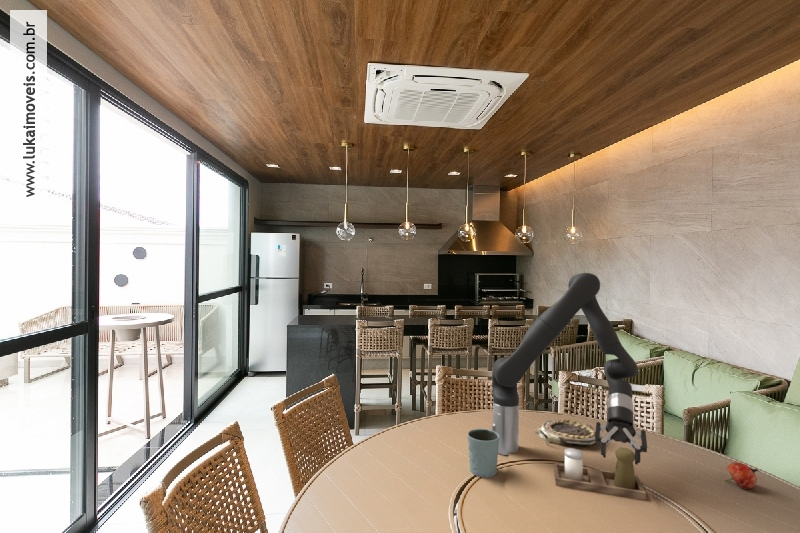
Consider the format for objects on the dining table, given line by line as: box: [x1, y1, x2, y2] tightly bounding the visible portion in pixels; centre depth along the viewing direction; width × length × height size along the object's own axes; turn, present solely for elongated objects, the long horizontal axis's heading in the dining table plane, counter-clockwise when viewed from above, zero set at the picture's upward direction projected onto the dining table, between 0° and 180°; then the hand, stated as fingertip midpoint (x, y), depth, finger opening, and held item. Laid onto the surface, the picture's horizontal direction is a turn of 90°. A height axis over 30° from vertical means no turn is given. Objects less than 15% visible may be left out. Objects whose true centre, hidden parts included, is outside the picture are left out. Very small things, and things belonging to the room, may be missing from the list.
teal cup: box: [467, 428, 499, 479], centre depth 132 cm, size 10×10×12 cm
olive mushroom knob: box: [614, 446, 636, 490], centre depth 123 cm, size 6×6×11 cm
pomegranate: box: [724, 461, 760, 490], centre depth 126 cm, size 7×7×10 cm
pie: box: [533, 418, 598, 448], centre depth 161 cm, size 28×27×5 cm
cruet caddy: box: [553, 462, 647, 501], centre depth 124 cm, size 24×11×3 cm, turn 72°
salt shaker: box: [564, 447, 584, 481], centre depth 126 cm, size 5×5×9 cm
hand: (620, 460), depth 123 cm, fingers open, 8 cm apart
